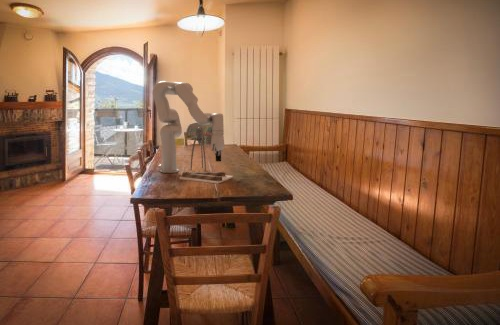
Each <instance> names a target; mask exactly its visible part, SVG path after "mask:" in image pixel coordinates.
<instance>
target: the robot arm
mask: <svg viewBox="0 0 500 325" xmlns="http://www.w3.org/2000/svg"><path fill="white" fill-rule="evenodd" d="M193 92H194V88H193V85H191V84H190V83H188V82H184V81H183V82H181V81H180V82H177V81H168V80H166V81H165V80H162V81H158V82H157V83H155V84H154V86H153V89H152V97H153V100H154V104H155V107H156V113H157V116H158V121H160V122H161V123H163V124H165V125H163V126H162V127H161V128H160V131H159V137H160V140H161V141H160V142H161V164H158V166H157V168H159V172H160V173H163V174H172V173H173V174H174V173H178V172H179V171H180V169H179V168H177V166H178V165H177V143H176V139H177V138H179V137H181V135H182V133H183V130H182V123H181V120H180V116H179V113H178V111H177V110H176V109H174V108H171V106H170V103H169V100H168V98H167V96H166V95H171V96H178V97H179V98H180V100H181V101H182V102H183V103H184V104H185V106H186V107H187V110H188V112H189V115H190V116H191V117H192V119H193V120H194V121H195V122H196V123H197V124H198V125H200V126H209V125H211V137H210V138H211V140H210V150H211V151H212V153H213V154H214V156H215V162H220V163H221V161H222V152H224V149H225V138H224V137H225V136H224V135H225V132H224V130H225V129H224V127H225V126H224V114H223V113H209V112H203V111H202V110H201V108H200V107H199V105H198V102H199V99H198V97H197V96H196V95H195V93H193Z"/></svg>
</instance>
